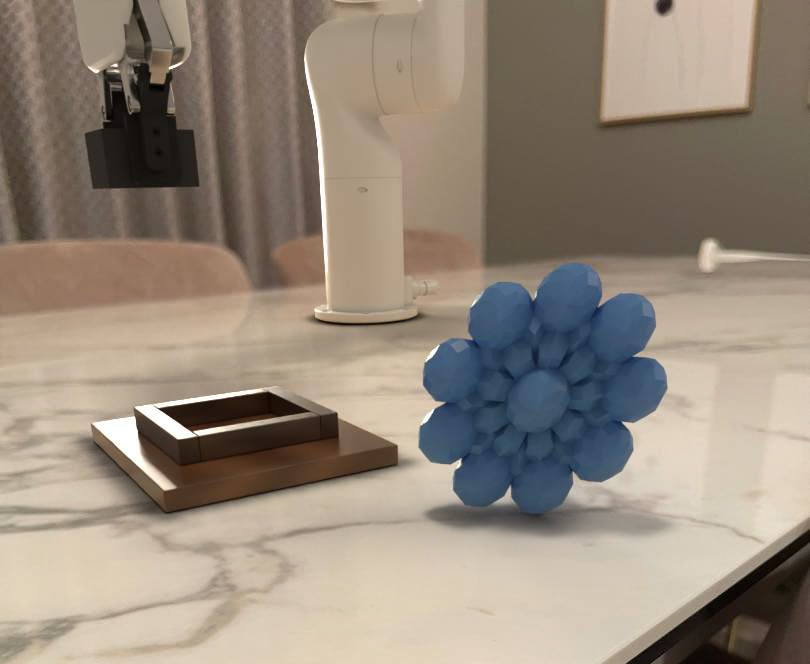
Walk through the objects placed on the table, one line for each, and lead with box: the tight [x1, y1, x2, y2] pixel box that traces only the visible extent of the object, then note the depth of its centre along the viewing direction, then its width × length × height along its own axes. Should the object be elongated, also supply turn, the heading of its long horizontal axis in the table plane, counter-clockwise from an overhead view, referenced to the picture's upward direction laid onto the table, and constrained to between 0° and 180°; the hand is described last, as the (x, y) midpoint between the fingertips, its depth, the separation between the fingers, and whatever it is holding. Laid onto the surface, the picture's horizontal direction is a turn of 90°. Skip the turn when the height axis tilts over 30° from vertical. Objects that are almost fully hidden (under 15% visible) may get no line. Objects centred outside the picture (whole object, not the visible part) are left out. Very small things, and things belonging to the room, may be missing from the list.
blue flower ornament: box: [417, 262, 669, 515], centre depth 41 cm, size 12×7×12 cm, turn 82°
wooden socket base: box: [90, 385, 399, 513], centre depth 53 cm, size 14×16×3 cm
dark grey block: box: [84, 128, 200, 190], centre depth 57 cm, size 6×5×4 cm
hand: (145, 181), depth 58 cm, fingers closed on dark grey block, 5 cm apart
